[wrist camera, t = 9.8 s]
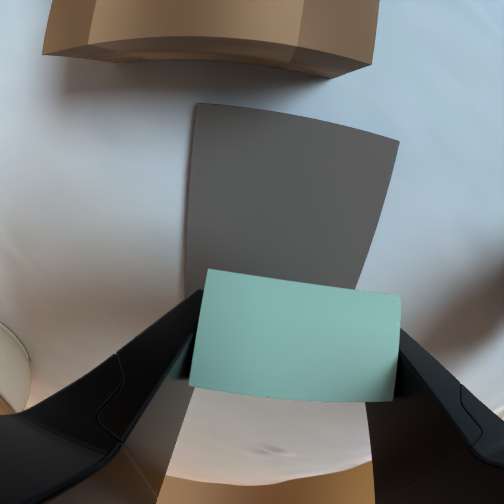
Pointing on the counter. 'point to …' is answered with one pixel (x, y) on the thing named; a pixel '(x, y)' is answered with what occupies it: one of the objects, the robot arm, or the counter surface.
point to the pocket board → (218, 32)
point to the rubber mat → (282, 196)
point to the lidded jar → (13, 373)
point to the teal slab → (295, 340)
